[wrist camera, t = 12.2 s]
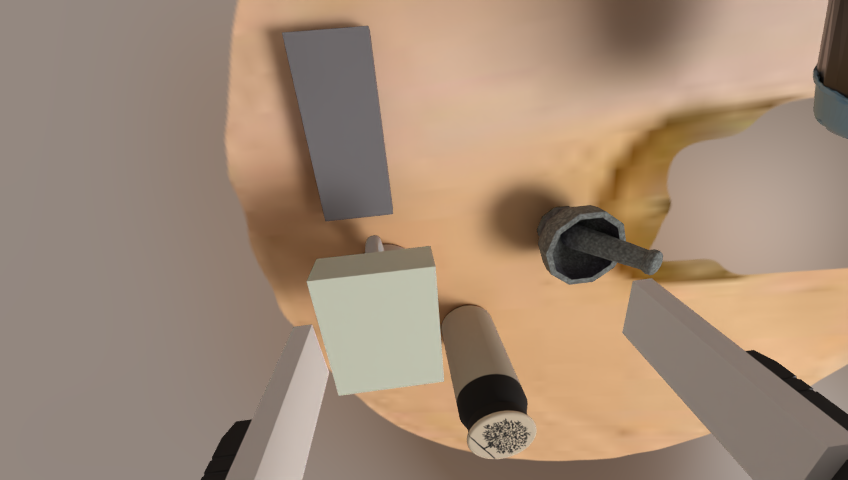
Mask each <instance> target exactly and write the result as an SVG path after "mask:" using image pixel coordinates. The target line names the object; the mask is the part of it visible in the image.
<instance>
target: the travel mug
mask: <svg viewBox="0 0 848 480" xmlns="http://www.w3.org/2000/svg"><path fill="white" fill-rule="evenodd" d="M441 330H442V335H443V340H444V345H445V350H446V355H447V359H448V364H449V369H450V374H451V379H452V383H453V388H454V393H455V398H456V403H457V407H458V412H459V417H460V420H461V422H462V423H463V424H464V426H465V427H466V428H467V429H468V435H467V444H468V447H469V449H470V450H471V451H472V452H473V453H474V454H476V455H478V456H480V457H483V458H487V459H502V458H507V457H510V456H513V455H516V454H518V453H520V452H521V451H523V450H524V449H526V448H527V447H528V446H529V445H530V444H531V443H532V441H533V440H534V438H535V436H536V425H535V422H534V421H533V420H532V418H531V417H529V416H528V415H527V398H526V396H525V394H524V391H523V389H522V387H521V385H520V382H519V380H518V378H517V375H516V373H515V371H514V369H513V366H512V364H511V362H510V359H509V357H508V355H507V353H506V350H505V348H504V346H503V343H502V341H501V339H500V337H499V334H498V332H497V330H496V327H495V325H494V323H493V321H492V318H491V316H490V314H489V313H488V312H487V311H486V310H485V309H483V308H481V307H478V306H473V305H468V306H462V307H459V308H456V309H454V310H453V311H451V312H450V313H449V314H448V315H447V316H446V317H445V319H444V320H443V323H442V327H441Z"/></svg>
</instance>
